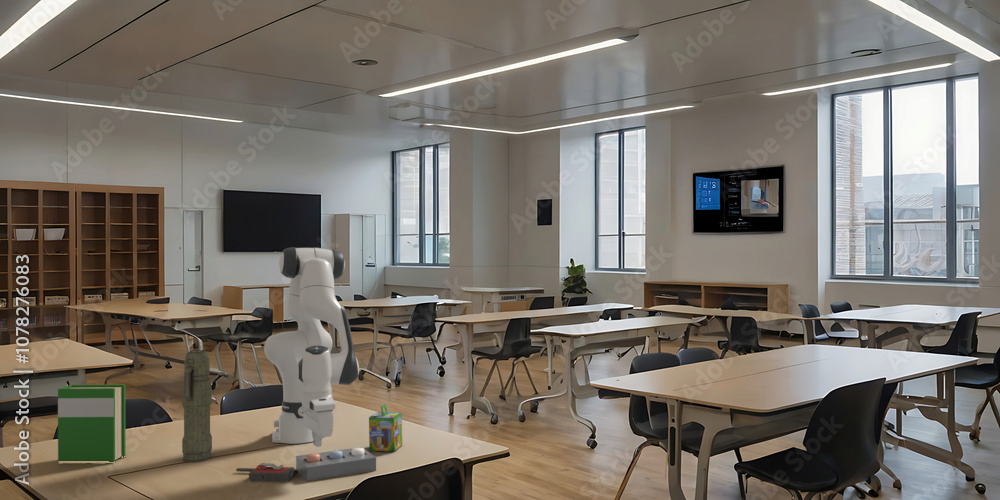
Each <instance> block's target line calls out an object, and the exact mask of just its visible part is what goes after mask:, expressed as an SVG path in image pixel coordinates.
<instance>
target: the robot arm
mask: <svg viewBox="0 0 1000 500" xmlns="http://www.w3.org/2000/svg"><path fill="white" fill-rule="evenodd" d="M278 260H279V261H278V266H279V271H280V274H281V275H282V276H283V277H286V278H288V279H290V283H289V287H288V294H287V295H288V297H287V307H286V313H287V315H288V317H289V318H290V319H291V320H293V321H295V322H297V330H295V331H294V330H292V331H283V332H282V331H281V332H278V333H274V334H273V335H270V336H268V338H266V341H265V343H264V346H263V347H264V348H263V351H264V355H265V358H266V359H267V360H268V361H269V362H271V364H273V365H274V366H275V367H276V368H277V370H278V372H279V374H280V376H281V381H282V391H283V393H282V394H283V399H282V401H281V412H280V414H279V417H278V419H277V420H273V428H276V429H274V430H272V434H271V437H272V441H271V442H272V443H274V444H275V443H277V444H278V443H282V444H288V445H289V444H294V445H295V444H306V443H311V442H312V444H313V446H315V447H316V448H319V447H321V446H322V443H323V442H322V440H323V438H328V437H332V435H333V432H334V420H335V419H334V418H335V417H334V411H335V410H336V402H335V400H334V398H333V389H332V385H347V386H350V385H352V383H354V382H355V381H356V380H357V379H358V378H359V375H360V365H359V361H358V358H357V355H356V352H355V348H354V347H355V346H354V342H353V337H352V332H351V326H350V322H349V317H348V314H347V311H346V308H345V306H344V305H343V304H341V303H339V301H338V300H337V297H336V293H335V280H337V279H340V278H341V277H342V276H343V273H344V271H345V267H346V261H345V256H344V255H343V253H342V252H341V251H339V250H336V249H327V248H323V247H322V248H321V247H295V246H294V247H287V248H285V249H283V250H282V251H281V255H280V256H279V259H278ZM321 321H323V322H326V323H328V324H330V325H331V326H333V327H334V328H335V329H336V331H337V334H338V339H339V344H340V350H341V351H340V352H337V353H331V351H332V350H333V349H332V347H333V338H332V336H331V334H330V333H329V332H328V331H327V330H326V329H325V328H324V326H323V325H322V323H321ZM333 410H334V411H333Z"/></svg>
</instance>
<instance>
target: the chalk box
mask: <svg viewBox="0 0 1000 500" xmlns="http://www.w3.org/2000/svg"><path fill="white" fill-rule="evenodd" d="M384 410H385V411H384ZM368 435H369V436H368V441H369V444H368V445H369V450H368V452H391V453H392V452H393V453H394V452H396V451H397V450H399V449H400V448H402V446H403V413H401V412H391V411H388V407H387V404H386V403H384V404H382V405H381V406H380V411H379V412H376V413H374V414H372V415H370V416H369V418H368Z"/></svg>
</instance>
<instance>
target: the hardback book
mask: <svg viewBox="0 0 1000 500" xmlns="http://www.w3.org/2000/svg"><path fill="white" fill-rule="evenodd" d="M126 441H127V440H126V384H123V383H122V384H116V383H115V384H70V385H66V386H63V387H60V388H58V389H57V462H58V461H109V462H114V461H115V462H116V460H118V459H121V458H120V457H122V456H123V457H124V456H127V454H126V448H127V447H126Z"/></svg>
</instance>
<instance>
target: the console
mask: <svg viewBox="0 0 1000 500" xmlns="http://www.w3.org/2000/svg"><path fill="white" fill-rule="evenodd" d="M353 448H354V447H352V448H344V449H338V450H339V451H342V452H343V458H340V459H333V460H330V459H329V452H331V451H332V450H330V451H323V452H317V453H318V454H320V461H319V462H312V463H307V462H306V455H307V454H300V455H296V456H295V466H296V467H295V470H297V471H299V473H298V474H300V475H301V476H302V478H304V479H305V481H306V482H310V481H311V482H312V481H317V480H323V479H330V478H337V477H343V476H350V475H356V474H362V473H369V472H376V471H377V457H376V456H375V455H373V454H372V453H371V452H370V451H369V450H367V449H366V448H364V455H361V456H354V457H353V456H352V455H351V450H352V449H353ZM357 448H363V446H360V447H357Z"/></svg>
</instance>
